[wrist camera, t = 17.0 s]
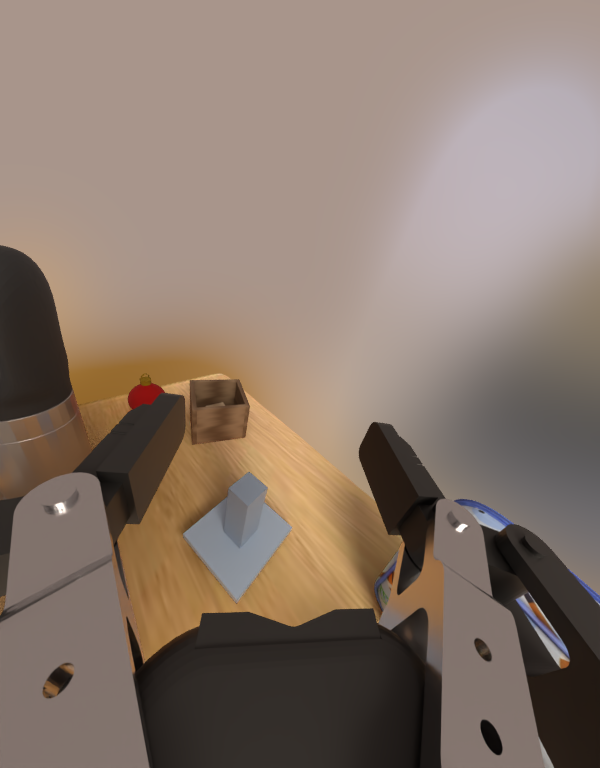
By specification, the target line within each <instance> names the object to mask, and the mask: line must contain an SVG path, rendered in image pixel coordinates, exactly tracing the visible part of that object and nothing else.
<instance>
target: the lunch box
mask: <svg viewBox="0 0 600 768" xmlns="http://www.w3.org/2000/svg"><path fill="white" fill-rule="evenodd" d="M454 502H456V503H458V504H460V505H461V506H463V507H464V508H465V509H467V510H468V511H469V512H470V513H471V514H472V515H473V516H474V517H475V519H476V520H477V521H478V523H479V524H481V525H483V526H486V527H489V528H491V529H494V530H497V531H499V532H500V531H501V530H503V529H504V528H505V527H506V526H507V525H509V524H513V523H512V522H511V521H509V520H508V519H506V518H505V517H504V516H502V515H501V514H499V513H498V512H496V511H494V510H493V509H491V508H489V507H487V506H486V505H483V504H481V503H479V502H476V501H472V500H466V499H459V500H455V501H454ZM398 553H399V550H398V551H397V552H396V554H395V555H394V556H393V558H392V559H391V561H390V562H389V563H388V565H387V566H386V567H385V569H384V570H383V571H382V573H381V574H380V575H379V577H378V578H377V580H376V582H375V587H374V590H375V595H376V598H377V601H378V603H379V605H380V607H381V609H382V611H384V609H385V607H386V605H387V603H388V600H389V597H390V593H391V588H392V583H393V578H394V573H395V568H396V563H397V558H398ZM569 571H570V570H569ZM570 572H571V571H570ZM571 573H572V572H571ZM572 574H573V575H574V576H575V577H576V579H577V580H578V581H579V582H580V583H581V584H582V586H583V587H584V588H585V589H586V590H587V591H588V592H589V594H590V595H591V596H592V597H593V598H594V599H595V600H596V602H597V603H598V604H599V605H600V596H599V595H598V594H597V593H595V592H594V591H593V590H592V589H591V588H590V587H589V586H588V585H586V584H585V583H584V582H583V581H582V580H581V579H579V578H578V577H577V576H576V575H575V574H574V573H572ZM516 601H517V602H518V604H519V606H520V607H521V609H522V610H523V612H524V613H525V615H526V616H527V618H528V620H529V621H530V623H531V624H532V626H533V627H534V629H535V631H536V632H537V634H538V635H539V637H540V638H541V640H542V641H543V643H544V645H545V646H546V648H547V649H548V651H549V652H550V654H551V655H552V657H553V659H554V660H555V662H556V663H557V664H558V666H559V667H560V668H561V669H562V668H566V667H567V666H568V665H569V662H570V658H569V654H568V651H567V648H566V646H565V644H564V643H563V641H562V640H561V638H560V637H559V635H558V634H557V632H556V631H555V630H554V628H553V627H552V625H551V624H550V622H549V621H548V619H547V618H546V617H545V615H544V614H543V612H542V611H541V609H540V608H539V606H538V605H537V604H536V602H535V601H534V599H533V598H532V596H531V595H530V593H529V592H528V593H526V594H525V595H523V596H521V597H519V598H518V599H516ZM539 742H540V747H541V751H542V756H543V761H544V766H545V768H554V766H553V764H552V763H551V761H550V759H549V757H548V755H547V753H546V751H545V749H544V747H543V745H542V743H541V741H540V739H539Z"/></svg>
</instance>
